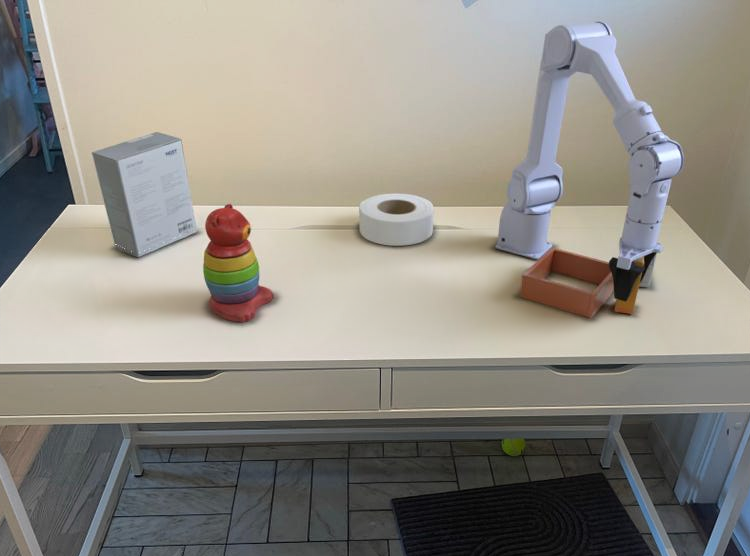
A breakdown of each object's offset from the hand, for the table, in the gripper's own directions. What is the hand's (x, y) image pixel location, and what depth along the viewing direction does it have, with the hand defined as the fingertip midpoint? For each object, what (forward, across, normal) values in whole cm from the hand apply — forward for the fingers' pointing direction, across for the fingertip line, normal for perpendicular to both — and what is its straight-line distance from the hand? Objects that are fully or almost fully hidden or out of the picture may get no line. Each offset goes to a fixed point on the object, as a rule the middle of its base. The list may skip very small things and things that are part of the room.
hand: (627, 290), depth 125 cm
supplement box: (+4, 0, 0) cm, 4 cm away
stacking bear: (+4, -37, +58) cm, 68 cm away
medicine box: (+4, +13, +2) cm, 14 cm away
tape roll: (+4, +5, +52) cm, 52 cm away
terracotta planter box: (+4, 0, +10) cm, 11 cm away
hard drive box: (+4, -27, +90) cm, 94 cm away
